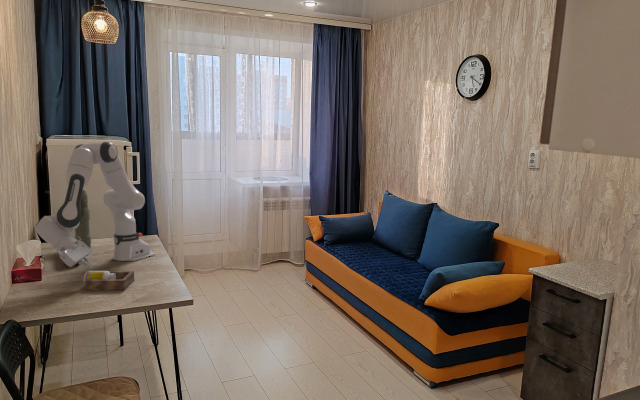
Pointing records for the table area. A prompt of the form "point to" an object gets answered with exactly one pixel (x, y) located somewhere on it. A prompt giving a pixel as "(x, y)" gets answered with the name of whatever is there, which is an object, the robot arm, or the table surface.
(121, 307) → the table surface
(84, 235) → the thermos
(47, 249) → the table surface
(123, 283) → the wooden tray
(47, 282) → the table surface
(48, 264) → the table surface
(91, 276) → the supplement bottle
